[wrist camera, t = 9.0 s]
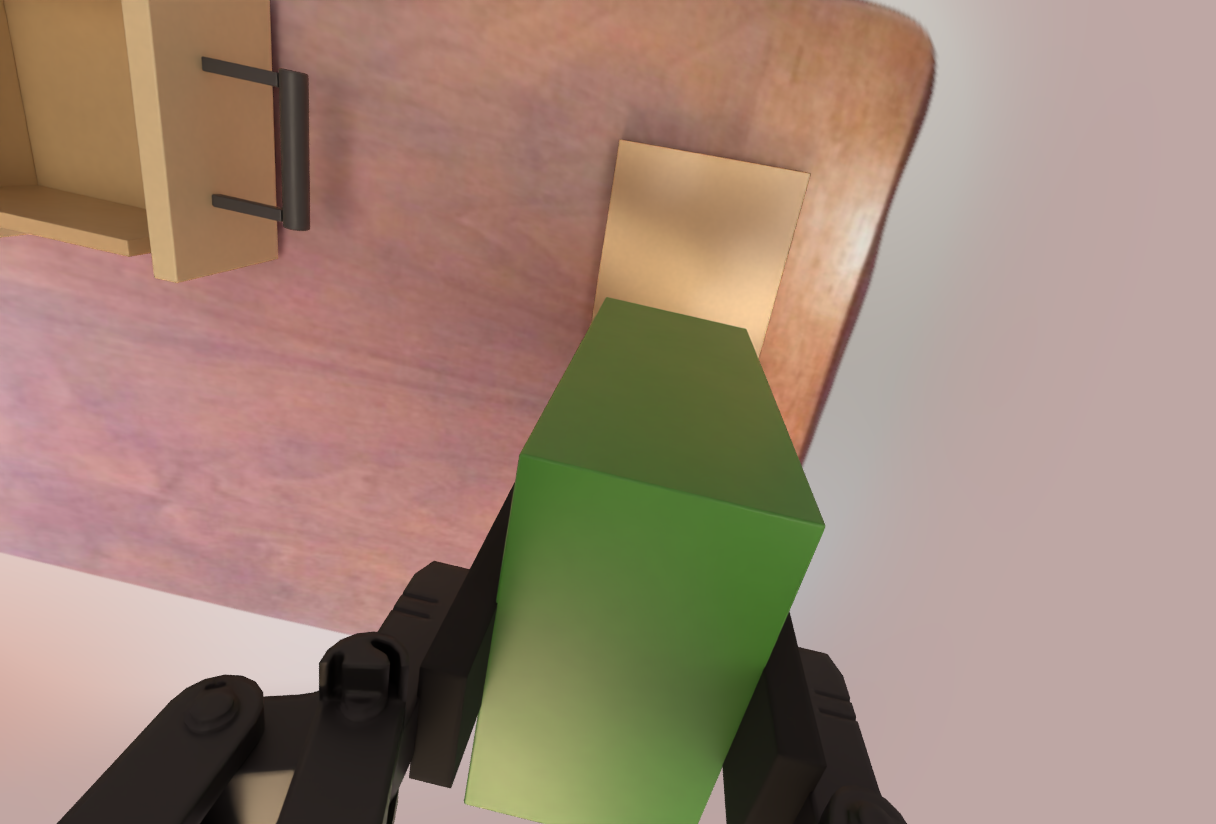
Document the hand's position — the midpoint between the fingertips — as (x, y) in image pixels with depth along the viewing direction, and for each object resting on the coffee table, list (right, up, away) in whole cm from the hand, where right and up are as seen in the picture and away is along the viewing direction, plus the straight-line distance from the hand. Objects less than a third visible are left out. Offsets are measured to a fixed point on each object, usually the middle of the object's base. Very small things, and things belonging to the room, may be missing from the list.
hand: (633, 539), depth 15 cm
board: (+3, +8, +20) cm, 22 cm away
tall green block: (+1, +3, +7) cm, 7 cm away
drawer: (-24, +20, +17) cm, 35 cm away
